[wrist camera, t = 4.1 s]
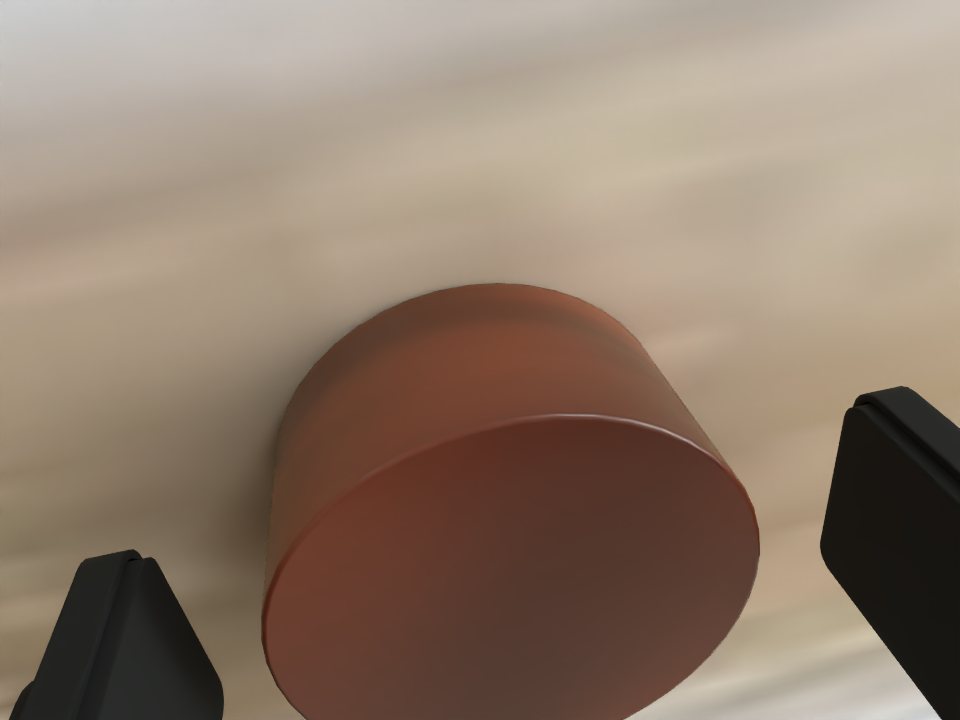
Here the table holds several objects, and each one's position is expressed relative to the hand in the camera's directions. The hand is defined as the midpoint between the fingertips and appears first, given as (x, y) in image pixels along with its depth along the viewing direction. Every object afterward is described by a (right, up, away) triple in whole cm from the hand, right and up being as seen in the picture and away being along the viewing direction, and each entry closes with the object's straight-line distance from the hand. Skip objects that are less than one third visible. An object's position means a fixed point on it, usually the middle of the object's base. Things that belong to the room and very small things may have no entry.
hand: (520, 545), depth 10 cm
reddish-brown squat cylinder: (-1, +1, +1) cm, 2 cm away
